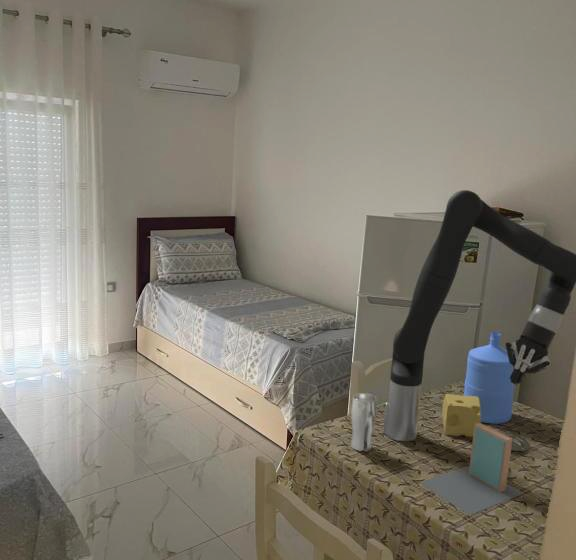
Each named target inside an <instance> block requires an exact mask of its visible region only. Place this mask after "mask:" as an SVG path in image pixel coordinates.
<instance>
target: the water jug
mask: <svg viewBox="0 0 576 560" xmlns="http://www.w3.org/2000/svg"><path fill="white" fill-rule="evenodd" d="M501 337H502V334H501V333H500V332H499V333H498V332H490V337H489V340H490V341H489V344H488V345H487V344H486V345H484V346H478V347H475V348H471V349H470V350H469V351H468V356H467V359H466V361H467V365H466V375H465V380H464V393H463V396H477V397H478V398H479V402H480V414H481V423H484V424H491V425H496V424H499V425H500V424H504V423H508V422H509V421H510V420H511V419H512V413H513V403H514V398H513V397H514V390H515V384H514V383H512V382H511V379H510V376H511V374H512V372H513V370H514V366H513V365H512V364H510V362H509V358H508V353H507V349H506V348H503V347H501ZM517 357H518V356H516V360H517Z"/></svg>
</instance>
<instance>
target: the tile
mask: <svg viewBox="0 0 576 560" xmlns="http://www.w3.org/2000/svg"><path fill="white" fill-rule="evenodd" d="M512 445H513V438H512V437H510V436H508V435H506V434H504V433H503V432H502V433H501V432H500V431H498V430H496V429H493V428H491V427H490V426H487V425H485V424H483V423H482V422H481V423H477V424H475V426H474V434H473V437H472V444H471V450H470V451H471V454H470V460H469V465H470V468H469V474H470V475H472V476H474V477H475V478H477V479H479V480H480V481H482V482H484V483H485V484H487V485H489V486H490V487H492V488H494V489H496V490H497V491H499V492H503V491H505V490H506V484H508V474H509V469H510V459H511V452H512Z"/></svg>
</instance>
